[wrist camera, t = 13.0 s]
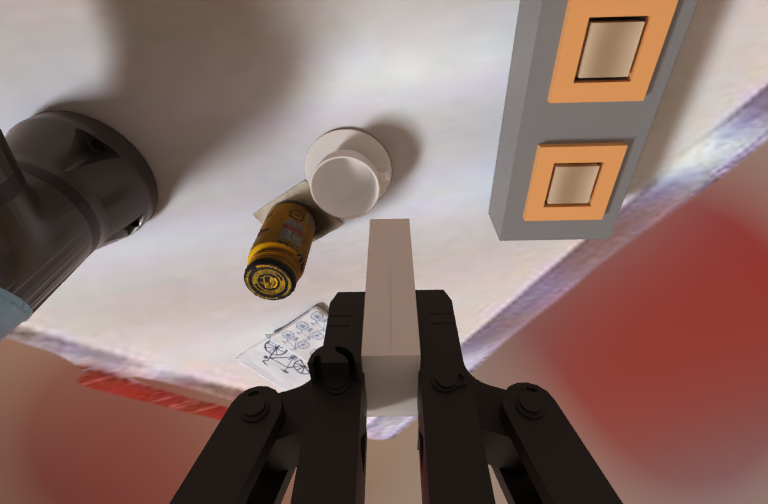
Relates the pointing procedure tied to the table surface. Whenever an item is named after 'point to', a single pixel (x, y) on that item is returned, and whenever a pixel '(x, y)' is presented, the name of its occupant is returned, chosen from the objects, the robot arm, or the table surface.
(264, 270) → the condiment
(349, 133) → the teacup
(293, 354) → the bicycle print napkin
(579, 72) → the peg
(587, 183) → the peg
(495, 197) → the block
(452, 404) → the robot arm
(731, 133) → the table surface
